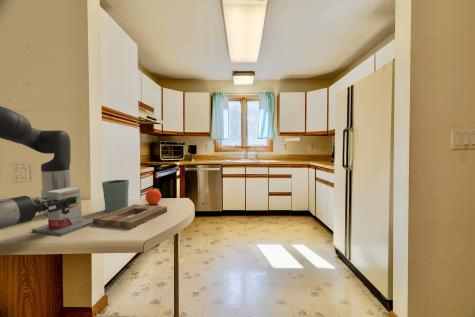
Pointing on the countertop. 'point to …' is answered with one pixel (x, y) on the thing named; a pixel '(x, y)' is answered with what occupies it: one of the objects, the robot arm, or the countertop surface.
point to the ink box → (68, 214)
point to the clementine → (153, 196)
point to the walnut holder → (121, 219)
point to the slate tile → (66, 229)
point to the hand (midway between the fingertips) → (66, 199)
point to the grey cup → (115, 194)
